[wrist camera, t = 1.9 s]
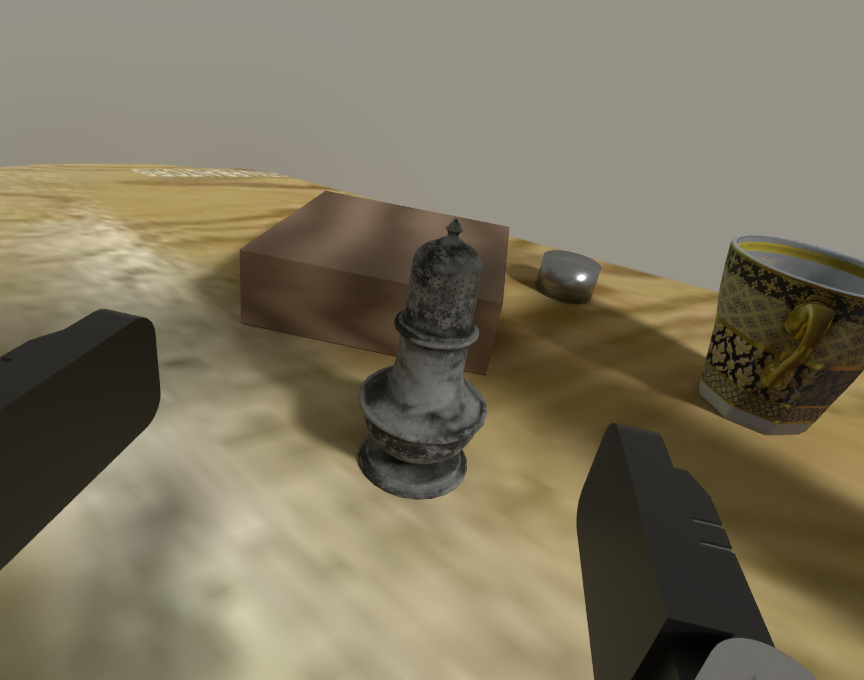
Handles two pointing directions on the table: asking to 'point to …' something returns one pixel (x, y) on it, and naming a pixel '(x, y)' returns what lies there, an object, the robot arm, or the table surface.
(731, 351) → the ceramic cup
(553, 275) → the grey metal puck
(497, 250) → the walnut stand
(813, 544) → the table surface
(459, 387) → the salt shaker
